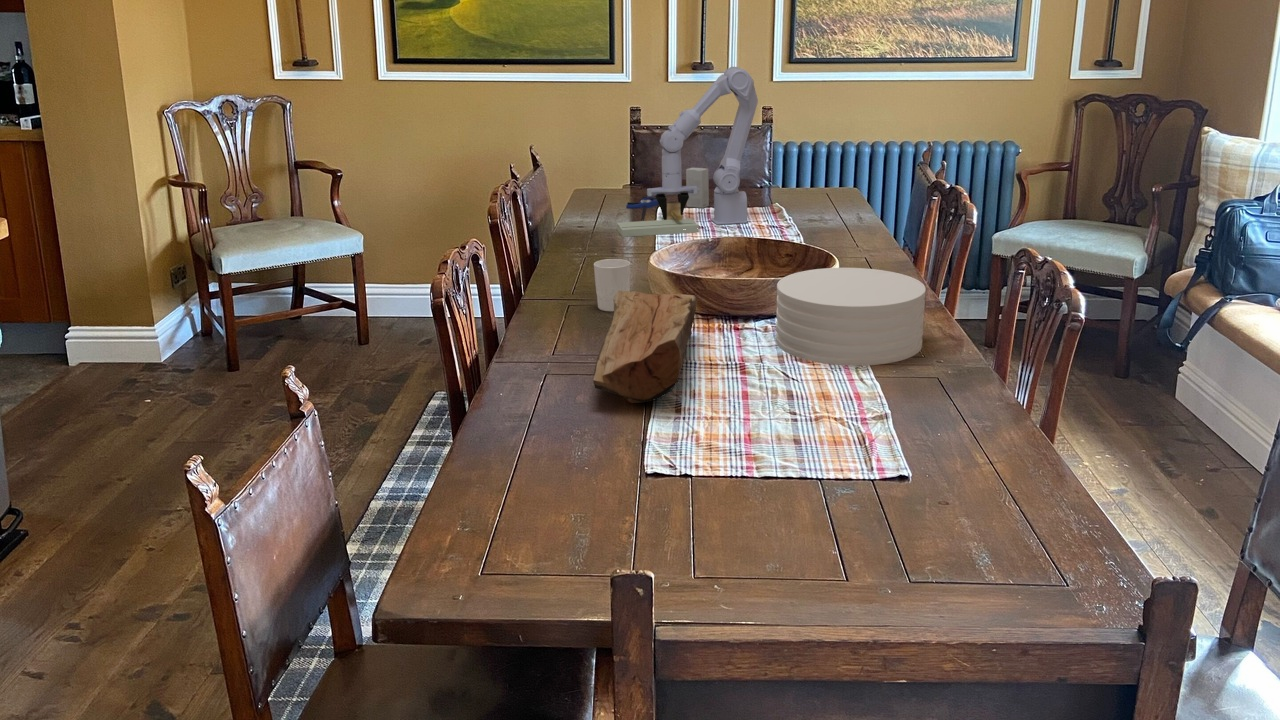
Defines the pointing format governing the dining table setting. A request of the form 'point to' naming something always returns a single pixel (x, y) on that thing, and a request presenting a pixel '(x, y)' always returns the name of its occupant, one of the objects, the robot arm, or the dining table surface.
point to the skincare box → (698, 187)
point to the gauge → (673, 210)
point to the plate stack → (850, 316)
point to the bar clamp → (643, 205)
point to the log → (645, 345)
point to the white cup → (610, 281)
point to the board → (657, 227)
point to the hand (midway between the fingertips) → (672, 219)
